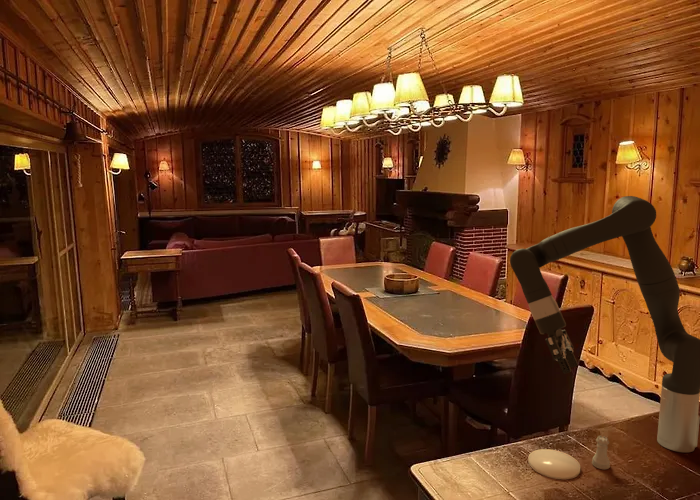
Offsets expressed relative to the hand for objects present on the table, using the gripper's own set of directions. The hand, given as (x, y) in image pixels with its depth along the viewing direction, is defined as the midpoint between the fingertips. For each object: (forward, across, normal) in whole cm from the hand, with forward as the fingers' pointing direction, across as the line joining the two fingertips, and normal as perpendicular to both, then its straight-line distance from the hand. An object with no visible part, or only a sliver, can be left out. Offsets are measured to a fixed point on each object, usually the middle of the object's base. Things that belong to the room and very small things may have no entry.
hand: (571, 369), depth 140 cm
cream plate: (+22, -7, +13) cm, 26 cm away
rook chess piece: (+26, 0, +3) cm, 26 cm away
